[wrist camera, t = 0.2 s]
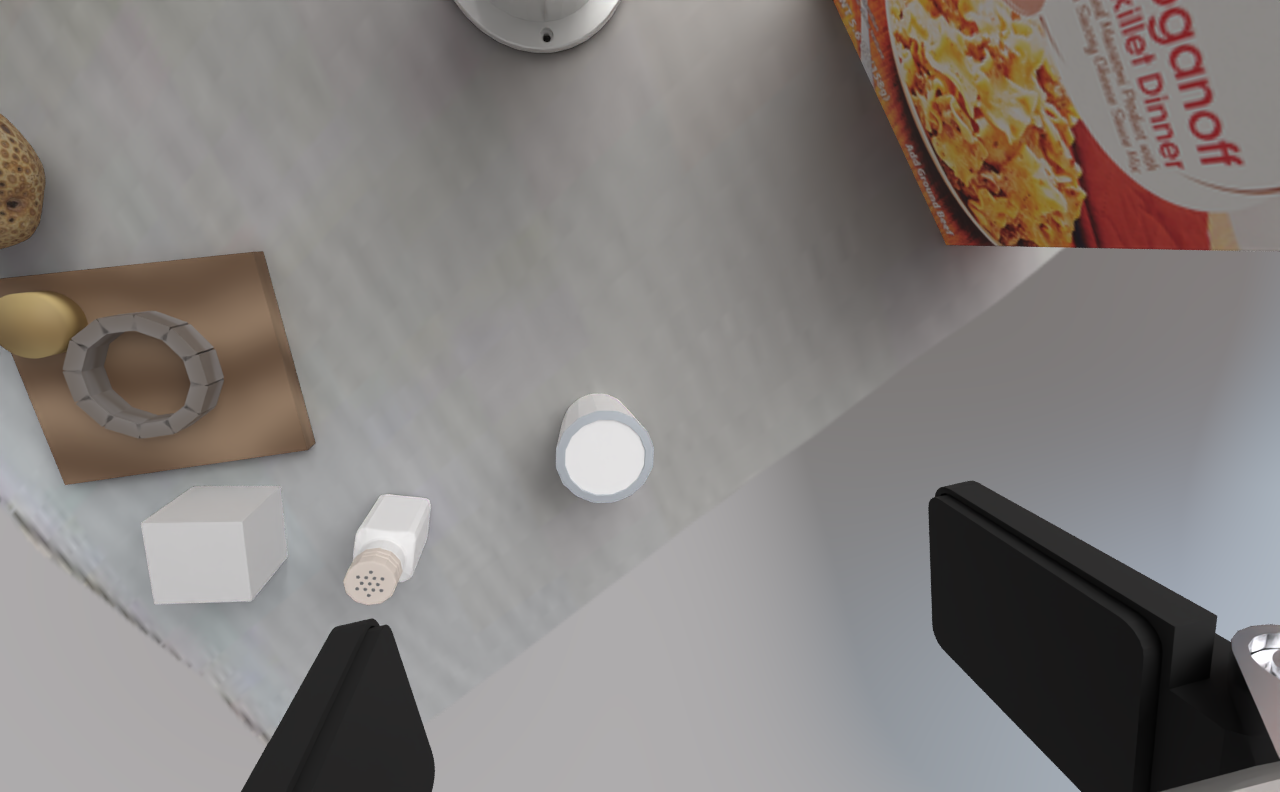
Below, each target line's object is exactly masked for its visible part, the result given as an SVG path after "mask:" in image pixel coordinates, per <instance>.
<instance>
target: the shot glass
mask: <svg viewBox="0 0 1280 792" xmlns="http://www.w3.org/2000/svg"><path fill="white" fill-rule="evenodd" d="M653 458H654V447H653V444H652V441H651V439H650V436H649V433H648V431H647V430H646V429H645V428H644V427H643V425H642V424H641V423H640V422H639V421H638V420H637V419H636V418H635V417H634V415H633V414H632V413H631V412H630V411H629V410H628V409H627V408H626V407H625V406H624V405H623V404H622V403H621V402H620V401H619V400H618V399H617V398H615V397H612V396H610V395H607V394H589V395H586V396H584V397H581V398H579V399H577V400H576V401H575V402H574V403H573V404H572V405H571V406H570V407H569V408H568V410H567V412H566V414H565V416H564V418H563V421H562V425H561V430H560V434H559V438H558V443H557V447H556V469H557V471H558V473H559V476H560V478H561V480H562V483H563V484H564V485H565V486H566V487H567V488H568V489H569V490H570V491H571V492H572V493H573V494H574V495H576V496H577V497H579V498H582V499H585V500H588V501H590V502H593V503H613V502H616V501H618V500H621V499H624V498H626V497H629V496H631V495H632V494H633V493H634V492H635V491H637V490H638V489H639V488H640V487H641V486H642V485H643V484H644V483H645V482H646V480H647V478H648V476H649V474H650V471H651V469H652V467H653Z"/></svg>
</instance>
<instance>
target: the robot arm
mask: <svg viewBox="0 0 1280 792" xmlns="http://www.w3.org/2000/svg"><path fill="white" fill-rule="evenodd" d="M620 1H621V0H454V2H455V3H456V4H457V5H458V7H459V8H460V9H461V11H462V12H463V13H464V15H465V16H466V17H467V18H468V19H469V20H470V21H471V22H472V23H473V24H474V25H476V26H477V27H478V28H479V29H480V30H481V31H482V32H484V33H485V34H487V35H488V36H490V37H491V38H493V39H495V40H496V41H498V42H500V43H502V44H504V45H507V46H509V47H512V48H514V49H517V50H522V51H527V52H533V53H553V52H557V51H562V50H566V49H570V48H572V47H574V46H576V45H578V44H580V43H583V42H585V41H586V40H588V39H589V38H590V37H592V36H593V35H594V34H595V33H597V32H598V31H599V30H601V28H602V27H603V26H604V25H605V24H606V22H607V21H608V20H609V19H610V18H611V17H612V15H613V13H614V12H615V10H616V8H617V6H618V5H619V3H620ZM544 36H549V37H550V39H551V40H550V41H549V42H544V41H543V37H544ZM929 536H930V566H931V596H932V625H933V631H934V635H935V637H936V639H937V641H938V643H939V645H940V646H941V647H942V649H943V650H944V651H945V652H946V653H947V654H948V655H949V656H950V657H951V658H952V659H953V660H954V661H955V662H956V663H957V664H958V665H959V666H960V667H961V668H962V669H963V670H964V672H965V673H967V675H968V676H970V678H971V679H972V680H973V681H974V682H975V683H976V684H977V685H978V686H979V687H980V688H981V689H982V690H983V691H984V692H985V693H986V694H987V695H988V696H989V697H990V698H991V699H992V700H993V701H994V702H995V703H996V704H997V705H998V706H999V707H1000V708H1001V710H1002V711H1003V712H1004V713H1005V714H1006V715H1007V716H1008V717H1009V718H1010V719H1011V720H1012V721H1013V722H1014V723H1015V724H1016V725H1017V726H1018V727H1019V728H1020V729H1021V730H1022V731H1023V732H1024V733H1025V734H1026V735H1027V736H1028V737H1029V738H1030V739H1031V740H1032V741H1033V742H1034V743H1035V744H1036V746H1038V748H1039V749H1040V750H1041V751H1042V752H1043V753H1044V754H1045V755H1046V756H1047V757H1048V758H1049V759H1050V760H1051V761H1052V762H1053V763H1054V764H1055V765H1056V766H1057V767H1058V768H1059V769H1060V770H1061V771H1062V772H1063V773H1064V774H1065V775H1066V776H1067V777H1068V778H1069V779H1070V780H1071V782H1073V783H1074V785H1075V786H1076V787H1077V788H1078V789H1079V790H1080V791H1081V792H1280V625H1271V624H1270V625H1257V626H1250V627H1247V628H1245V629H1242V630H1239V631H1238V632H1237V633H1236V634H1235V635H1234V636H1233V638H1232V639H1231V642H1230V641H1228V640H1226V639H1224V638H1223V637H1221V636H1219V635H1217V634H1216V633H1215V630H1216V622H1217V616H1216V615H1215V614H1213V613H1211V612H1209V611H1208V610H1206V609H1204V608H1202V607H1201V606H1198V605H1197V604H1195V603H1193V602H1191V601H1190V600H1188V599H1186V598H1184V597H1183V596H1181V595H1179V594H1177V593H1175V592H1173V591H1172V590H1170V589H1168V588H1166V587H1164V586H1163V585H1161V584H1159V583H1157V582H1156V581H1154V580H1152V579H1150V578H1148V577H1147V576H1145V575H1143V574H1141V573H1139V572H1137V571H1136V570H1134V569H1132V568H1130V567H1129V566H1127V565H1125V564H1123V563H1121V562H1120V561H1118V560H1116V559H1114V558H1112V557H1110V556H1109V555H1107V554H1105V553H1103V552H1102V551H1100V550H1098V549H1096V548H1094V547H1093V546H1091V545H1089V544H1087V543H1086V542H1084V541H1082V540H1080V539H1078V538H1076V537H1075V536H1073V535H1071V534H1069V533H1068V532H1066V531H1064V530H1062V529H1060V528H1059V527H1057V526H1055V525H1053V524H1051V523H1050V522H1048V521H1046V520H1044V519H1042V518H1040V517H1039V516H1037V515H1035V514H1033V513H1032V512H1030V511H1028V510H1026V509H1024V508H1022V507H1021V506H1019V505H1017V504H1015V503H1014V502H1012V501H1010V500H1008V499H1006V498H1005V497H1003V496H1001V495H999V494H997V493H996V492H994V491H992V490H990V489H988V488H987V487H985V486H983V485H981V484H980V483H978V482H975V481H967V482H962V483H958V484H954V485H949V486H945V487H941V488H939V489H938V490H937V492H936V494H935V497H934V498H932V499H931V500H930V502H929ZM434 774H435V767H434V758H433V754H432V751H431V748H430V745H429V742H428V739H427V736H426V733H425V730H424V726H423V723H422V720H421V717H420V714H419V711H418V708H417V705H416V702H415V699H414V696H413V693H412V690H411V687H410V684H409V681H408V678H407V675H406V672H405V669H404V666H403V663H402V660H401V657H400V654H399V651H398V648H397V645H396V642H395V639H394V636H393V633H392V630H391V628H390V627H389V626H388V625H383V626H379V624H378V622H377V621H376V620H375V619H368V620H363V621H359V622H354V623H350V624H346V625H341V626H337V627H335V628H334V629H333V630H332V631H331V633H330V634H329V636H328V638H327V640H326V642H325V643H324V645H323V647H322V649H321V651H320V652H319V654H318V656H317V658H316V660H315V661H314V663H313V665H312V667H311V668H310V670H309V672H308V674H307V676H306V677H305V679H304V681H303V683H302V685H301V686H300V688H299V690H298V692H297V694H296V695H295V697H294V699H293V701H292V702H291V704H290V706H289V708H288V710H287V711H286V713H285V715H284V717H283V719H282V720H281V722H280V724H279V726H278V728H277V729H276V731H275V733H274V735H273V736H272V738H271V740H270V741H269V743H268V744H267V746H266V748H265V750H264V752H263V753H262V756H261V757H260V759H259V761H258V762H257V764H256V766H255V768H254V769H253V771H252V773H251V775H250V777H249V779H248V780H247V782H246V784H245V786H244V787H243V789H242V791H241V792H432V788H433V783H434Z"/></svg>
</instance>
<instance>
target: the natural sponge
mask: <svg viewBox="0 0 1280 792" xmlns="http://www.w3.org/2000/svg"><path fill="white" fill-rule="evenodd" d="M44 189H45V173H44V168H43V165H42V163H41V161H40V159H39V158H38V156H37V154H36V153H35V151H34V149H33V148H32V147H31V145H30V144H29V143H28V142H27V140H26V139H25V138H24V137H23V135H22V134H21V133H20V132H19V131H18V130H17V129H16V128H15V127H14V126H13V125H12V124H11V123H10V122H9V121H8V120H7V119H6V118H5V117H4V116H3V115H1V114H0V249H2V248H6V247H9V246H12V245H15V244H18V243H21V242H23V241H25V240H27V239H28V238H30V237H31V236H32V235H33V233H34V232H35V231H36V228H37V226H38V225H39V223H40V218H41V213H42V205H43V198H44Z"/></svg>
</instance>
